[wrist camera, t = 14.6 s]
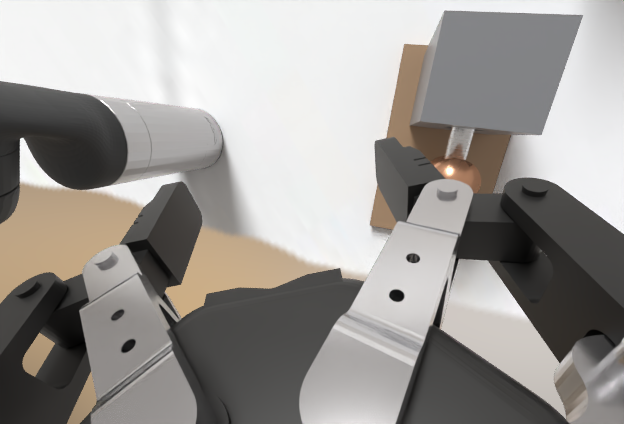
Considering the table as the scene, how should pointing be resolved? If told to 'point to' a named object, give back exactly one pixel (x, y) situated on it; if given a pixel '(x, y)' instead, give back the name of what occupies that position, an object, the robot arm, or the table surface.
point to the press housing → (478, 87)
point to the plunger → (459, 159)
